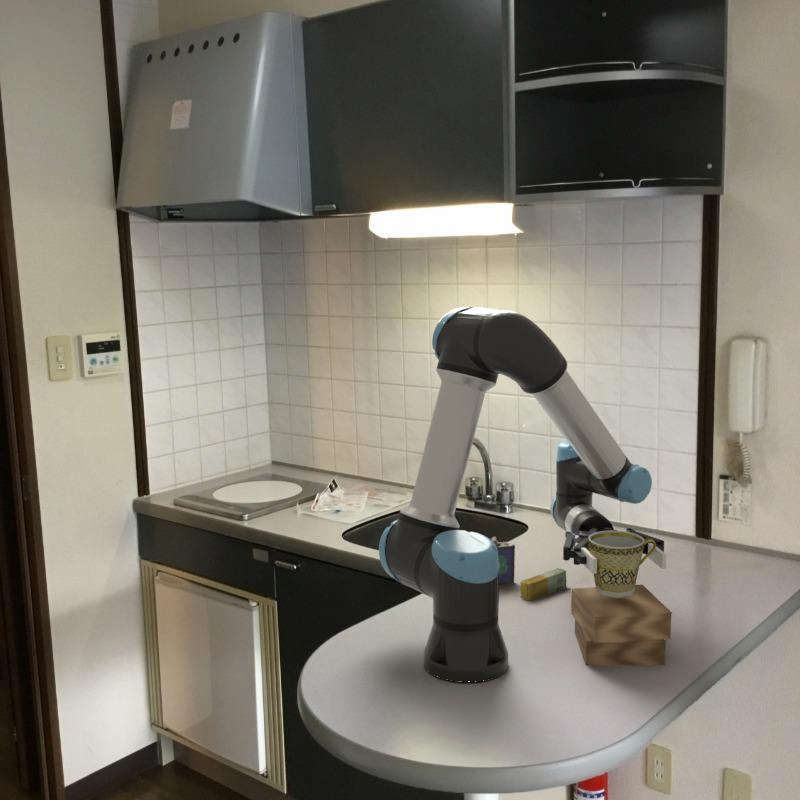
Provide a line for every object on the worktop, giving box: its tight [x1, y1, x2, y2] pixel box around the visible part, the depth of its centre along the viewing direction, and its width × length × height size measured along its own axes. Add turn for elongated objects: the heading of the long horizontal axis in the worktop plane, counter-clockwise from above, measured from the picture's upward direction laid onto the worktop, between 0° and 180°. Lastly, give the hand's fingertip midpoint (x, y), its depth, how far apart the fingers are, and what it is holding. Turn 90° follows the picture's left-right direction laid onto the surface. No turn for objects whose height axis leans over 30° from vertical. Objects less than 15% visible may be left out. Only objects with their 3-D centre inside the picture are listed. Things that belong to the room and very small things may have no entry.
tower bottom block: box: [574, 618, 667, 666], centre depth 181 cm, size 14×14×5 cm
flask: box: [489, 536, 516, 586], centre depth 214 cm, size 9×3×11 cm, turn 109°
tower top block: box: [570, 584, 672, 644], centre depth 180 cm, size 14×14×5 cm
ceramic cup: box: [588, 530, 656, 598], centre depth 178 cm, size 13×10×10 cm
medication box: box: [520, 567, 567, 602], centre depth 209 cm, size 12×3×4 cm, turn 130°
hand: (629, 564), depth 175 cm, fingers closed on ceramic cup, 12 cm apart
